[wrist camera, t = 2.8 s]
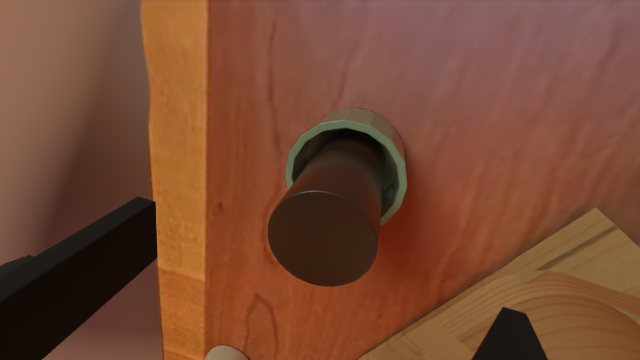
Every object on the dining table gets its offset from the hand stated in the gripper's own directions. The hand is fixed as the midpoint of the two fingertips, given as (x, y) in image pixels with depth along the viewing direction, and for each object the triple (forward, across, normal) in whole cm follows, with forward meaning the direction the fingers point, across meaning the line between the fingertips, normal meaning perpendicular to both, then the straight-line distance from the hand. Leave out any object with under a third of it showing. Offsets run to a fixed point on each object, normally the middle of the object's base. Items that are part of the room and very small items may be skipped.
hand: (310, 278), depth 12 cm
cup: (+14, 0, 0) cm, 14 cm away
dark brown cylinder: (+13, 0, 0) cm, 13 cm away
